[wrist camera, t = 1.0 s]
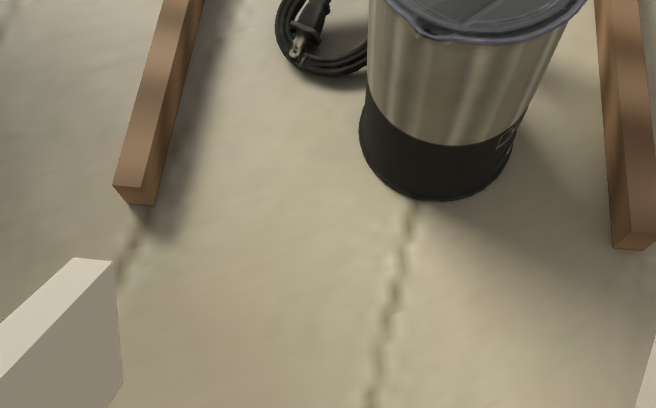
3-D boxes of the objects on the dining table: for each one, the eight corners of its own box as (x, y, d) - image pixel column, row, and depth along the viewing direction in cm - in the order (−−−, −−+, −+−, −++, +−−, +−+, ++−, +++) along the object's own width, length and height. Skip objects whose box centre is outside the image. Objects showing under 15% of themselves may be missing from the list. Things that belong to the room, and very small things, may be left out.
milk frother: (501, 220, 35) (597, 59, 21) (235, 169, 37) (168, -9, 23) (526, 23, 40) (615, -204, 27) (293, -12, 42) (266, -242, 29)
